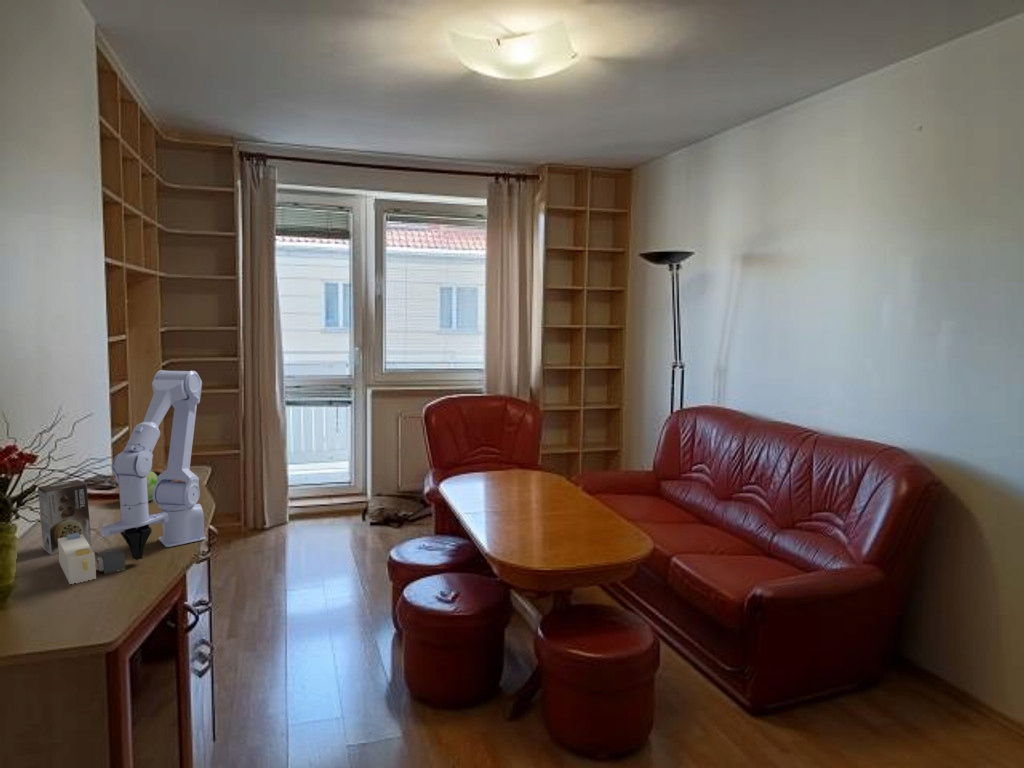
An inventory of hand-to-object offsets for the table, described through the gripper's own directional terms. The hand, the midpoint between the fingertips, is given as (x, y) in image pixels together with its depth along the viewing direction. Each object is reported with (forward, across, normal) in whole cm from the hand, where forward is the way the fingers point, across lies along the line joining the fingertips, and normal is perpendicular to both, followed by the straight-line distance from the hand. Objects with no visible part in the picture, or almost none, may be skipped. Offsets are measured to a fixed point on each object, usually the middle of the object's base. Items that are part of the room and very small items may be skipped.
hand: (137, 558), depth 163 cm
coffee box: (+2, +6, -25) cm, 26 cm away
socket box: (+1, +10, -7) cm, 12 cm away
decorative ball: (+2, -25, -50) cm, 56 cm away
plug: (+2, +5, -1) cm, 5 cm away
